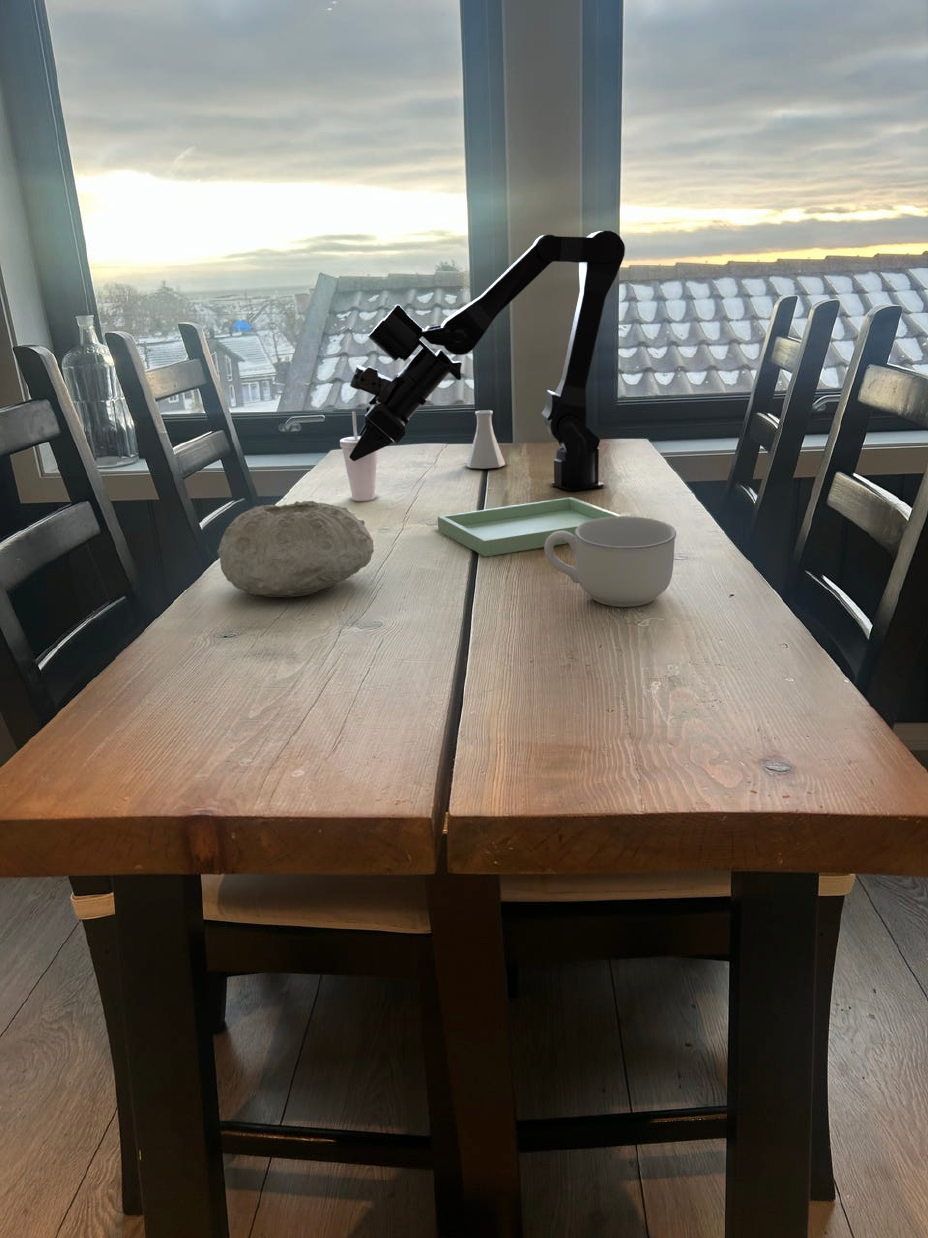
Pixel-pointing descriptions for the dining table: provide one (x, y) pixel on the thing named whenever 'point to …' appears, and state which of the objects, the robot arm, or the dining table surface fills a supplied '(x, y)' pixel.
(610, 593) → the teacup
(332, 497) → the dining table surface
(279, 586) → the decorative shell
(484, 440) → the flask
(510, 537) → the tray
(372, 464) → the smoothie
